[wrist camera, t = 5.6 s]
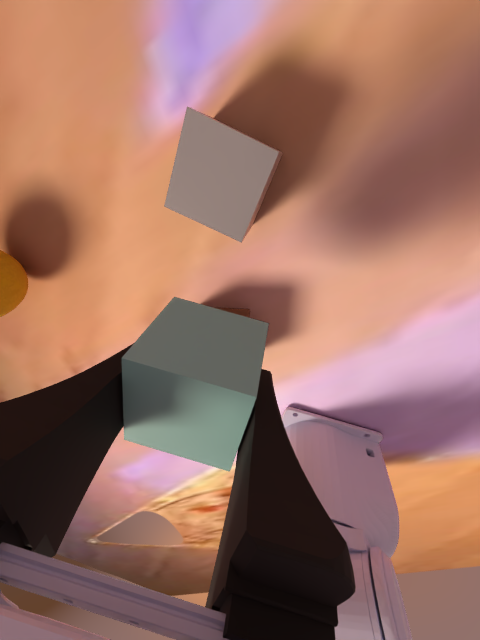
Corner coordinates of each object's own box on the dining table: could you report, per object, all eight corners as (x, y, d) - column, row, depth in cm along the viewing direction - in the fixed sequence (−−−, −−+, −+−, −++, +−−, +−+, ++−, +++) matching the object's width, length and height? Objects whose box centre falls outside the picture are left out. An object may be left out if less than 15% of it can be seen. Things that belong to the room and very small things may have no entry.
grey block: (283, 152, 16) (279, 151, 12) (252, 224, 18) (241, 242, 15) (213, 118, 16) (187, 106, 12) (191, 195, 18) (164, 206, 14)
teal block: (268, 323, 12) (256, 397, 9) (246, 390, 15) (229, 471, 11) (174, 296, 13) (121, 358, 9) (167, 367, 15) (124, 439, 11)
